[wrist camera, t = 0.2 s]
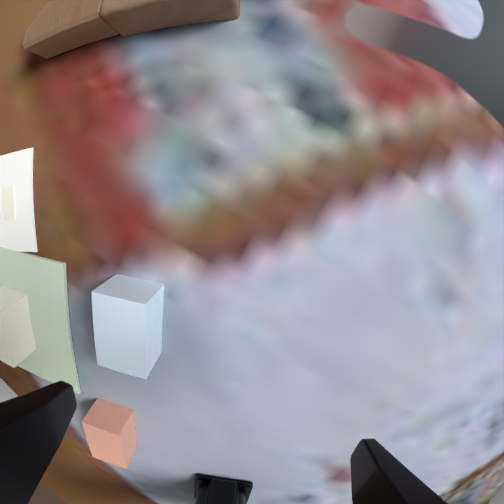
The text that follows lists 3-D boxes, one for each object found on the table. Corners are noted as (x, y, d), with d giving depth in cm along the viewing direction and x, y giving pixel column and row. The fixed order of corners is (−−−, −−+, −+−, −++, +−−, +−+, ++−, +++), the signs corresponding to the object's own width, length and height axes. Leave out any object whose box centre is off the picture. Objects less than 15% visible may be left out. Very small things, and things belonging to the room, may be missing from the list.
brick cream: (36, 348, 23) (14, 368, 19) (11, 337, 23) (-11, 353, 19) (27, 295, 22) (0, 311, 18) (2, 285, 22) (-24, 299, 18)
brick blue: (162, 351, 23) (146, 379, 19) (118, 340, 23) (97, 364, 19) (164, 283, 21) (145, 304, 18) (117, 273, 21) (91, 291, 18)
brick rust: (138, 444, 26) (126, 469, 22) (106, 433, 26) (92, 456, 22) (133, 408, 25) (119, 435, 21) (98, 397, 25) (81, 421, 21)
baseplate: (81, 392, 25) (79, 394, 24) (-5, 350, 25) (-7, 352, 24) (65, 262, 21) (63, 264, 21) (-24, 238, 21) (-26, 239, 21)
